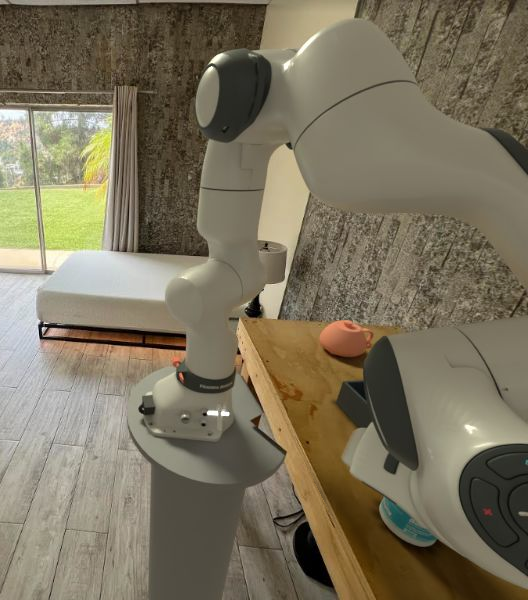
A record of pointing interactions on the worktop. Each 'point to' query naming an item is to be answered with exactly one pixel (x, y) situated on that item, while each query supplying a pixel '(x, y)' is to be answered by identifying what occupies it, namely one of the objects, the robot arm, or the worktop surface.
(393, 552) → the worktop surface
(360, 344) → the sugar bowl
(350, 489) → the worktop surface
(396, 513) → the pill bottle
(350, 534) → the worktop surface
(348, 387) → the bin
